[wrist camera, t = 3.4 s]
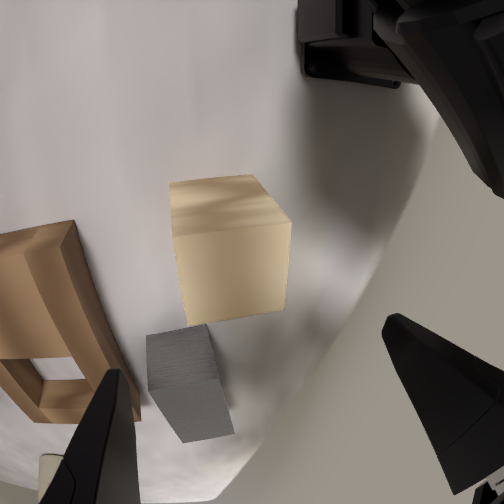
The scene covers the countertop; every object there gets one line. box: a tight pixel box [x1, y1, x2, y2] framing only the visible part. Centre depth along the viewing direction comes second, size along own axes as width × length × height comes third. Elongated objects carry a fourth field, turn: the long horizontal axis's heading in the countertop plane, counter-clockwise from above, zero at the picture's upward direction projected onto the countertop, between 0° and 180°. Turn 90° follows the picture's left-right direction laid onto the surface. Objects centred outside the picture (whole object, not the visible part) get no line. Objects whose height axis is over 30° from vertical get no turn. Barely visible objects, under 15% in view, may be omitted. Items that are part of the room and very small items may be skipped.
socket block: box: [0, 220, 141, 424], centre depth 17 cm, size 11×17×3 cm, turn 0°
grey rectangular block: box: [146, 324, 234, 443], centre depth 22 cm, size 4×9×5 cm, turn 4°
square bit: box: [169, 174, 292, 326], centre depth 15 cm, size 4×4×6 cm
